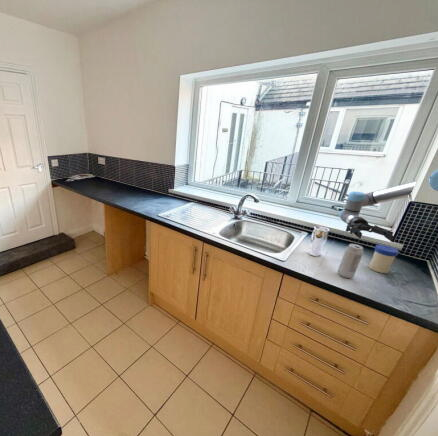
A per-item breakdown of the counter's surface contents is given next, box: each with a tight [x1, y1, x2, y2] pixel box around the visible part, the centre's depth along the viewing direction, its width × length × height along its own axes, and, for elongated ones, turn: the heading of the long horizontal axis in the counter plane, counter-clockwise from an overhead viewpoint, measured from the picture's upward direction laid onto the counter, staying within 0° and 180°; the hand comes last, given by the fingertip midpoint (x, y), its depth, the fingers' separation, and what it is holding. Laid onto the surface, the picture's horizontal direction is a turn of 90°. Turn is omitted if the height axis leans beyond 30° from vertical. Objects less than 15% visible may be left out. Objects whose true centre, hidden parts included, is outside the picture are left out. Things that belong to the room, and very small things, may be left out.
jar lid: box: [373, 244, 400, 258], centre depth 114 cm, size 8×8×2 cm
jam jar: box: [368, 250, 396, 274], centre depth 115 cm, size 7×7×11 cm
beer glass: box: [307, 225, 331, 257], centre depth 128 cm, size 7×7×15 cm
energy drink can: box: [337, 243, 365, 279], centre depth 109 cm, size 6×6×15 cm
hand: (376, 237), depth 121 cm, fingers open, 13 cm apart
